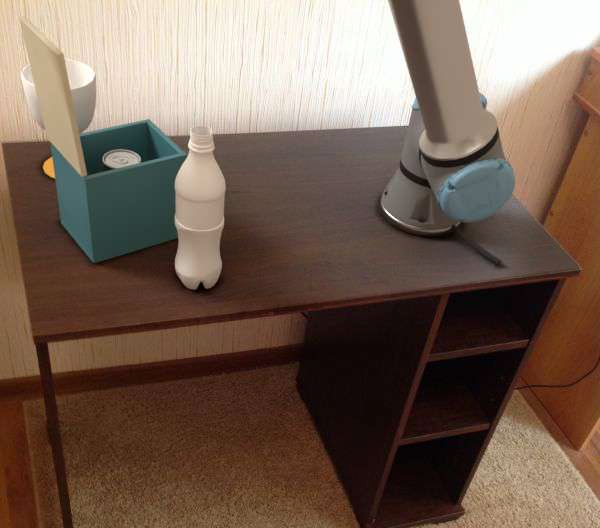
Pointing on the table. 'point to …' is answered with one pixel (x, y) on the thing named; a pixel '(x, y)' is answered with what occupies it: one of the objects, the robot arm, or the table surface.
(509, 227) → the table surface
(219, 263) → the water bottle
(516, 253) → the table surface
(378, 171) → the table surface
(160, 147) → the box
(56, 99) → the cooler lid
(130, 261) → the table surface
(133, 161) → the beverage can
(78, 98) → the cup
